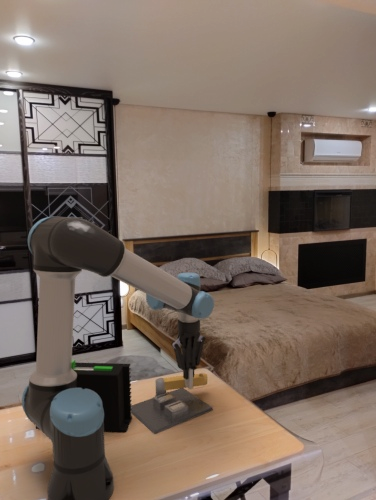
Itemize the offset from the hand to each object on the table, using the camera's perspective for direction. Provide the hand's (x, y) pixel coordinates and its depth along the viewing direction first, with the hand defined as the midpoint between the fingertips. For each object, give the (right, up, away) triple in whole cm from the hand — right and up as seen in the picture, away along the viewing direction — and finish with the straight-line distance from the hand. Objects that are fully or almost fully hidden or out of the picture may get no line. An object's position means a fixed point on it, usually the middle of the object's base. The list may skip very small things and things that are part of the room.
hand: (188, 387), depth 136 cm
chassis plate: (-6, -6, -5) cm, 10 cm away
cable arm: (-2, -3, +3) cm, 5 cm away
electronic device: (-32, -7, -10) cm, 35 cm away
